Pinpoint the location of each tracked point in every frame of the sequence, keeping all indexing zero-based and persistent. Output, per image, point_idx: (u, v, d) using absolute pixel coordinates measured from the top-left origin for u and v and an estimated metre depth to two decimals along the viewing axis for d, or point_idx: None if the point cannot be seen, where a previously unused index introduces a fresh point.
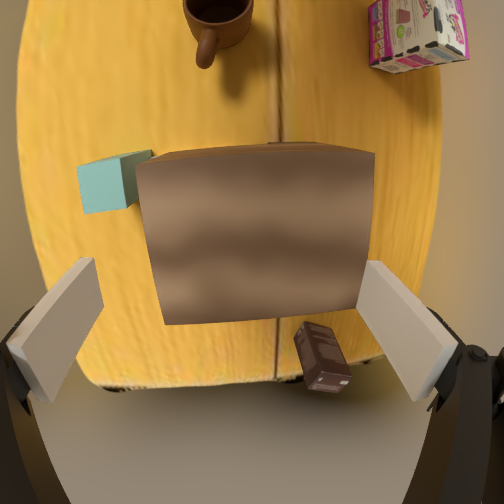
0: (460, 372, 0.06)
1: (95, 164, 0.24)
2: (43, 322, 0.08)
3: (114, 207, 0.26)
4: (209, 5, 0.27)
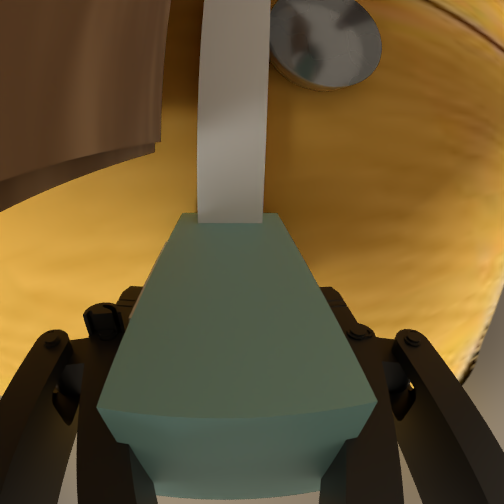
0: None
1: None
2: None
3: None
4: None
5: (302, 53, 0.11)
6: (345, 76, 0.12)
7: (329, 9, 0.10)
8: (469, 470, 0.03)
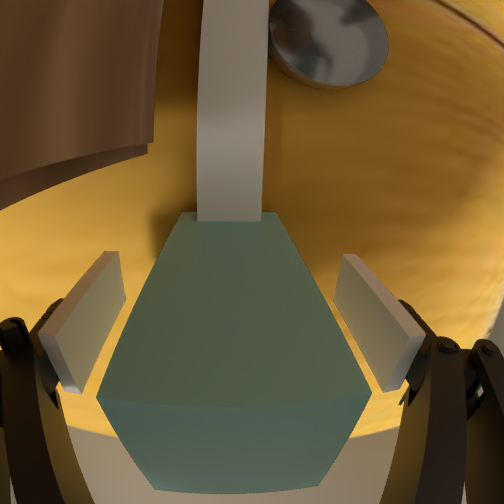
0: (429, 365, 0.07)
1: (140, 462, 0.05)
2: (75, 312, 0.08)
3: (342, 431, 0.05)
4: None
5: (306, 50, 0.11)
6: (350, 74, 0.11)
7: (334, 4, 0.09)
8: None
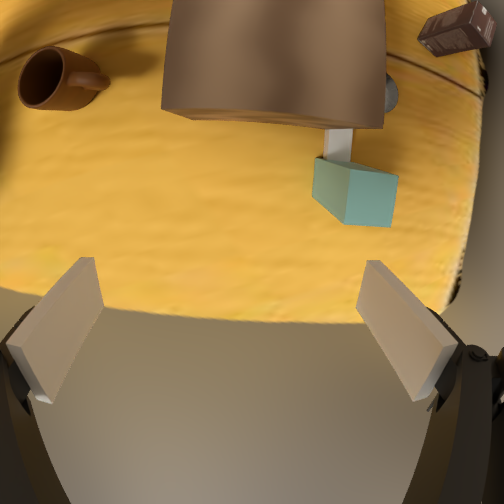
0: (460, 372, 0.06)
1: (348, 199, 0.24)
2: (43, 322, 0.08)
3: (394, 189, 0.24)
4: None
5: None
6: (385, 108, 0.30)
7: None
8: None
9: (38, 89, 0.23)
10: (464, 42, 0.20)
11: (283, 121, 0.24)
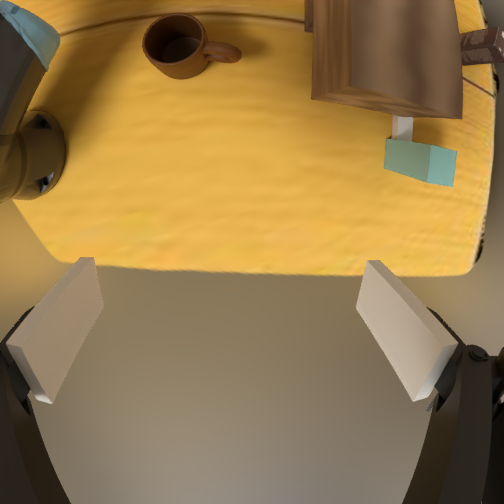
0: (460, 372, 0.06)
1: (430, 165, 0.30)
2: (43, 322, 0.08)
3: (454, 160, 0.30)
4: None
5: None
6: None
7: None
8: None
9: (153, 52, 0.29)
10: (488, 57, 0.26)
11: (387, 108, 0.29)
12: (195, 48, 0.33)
